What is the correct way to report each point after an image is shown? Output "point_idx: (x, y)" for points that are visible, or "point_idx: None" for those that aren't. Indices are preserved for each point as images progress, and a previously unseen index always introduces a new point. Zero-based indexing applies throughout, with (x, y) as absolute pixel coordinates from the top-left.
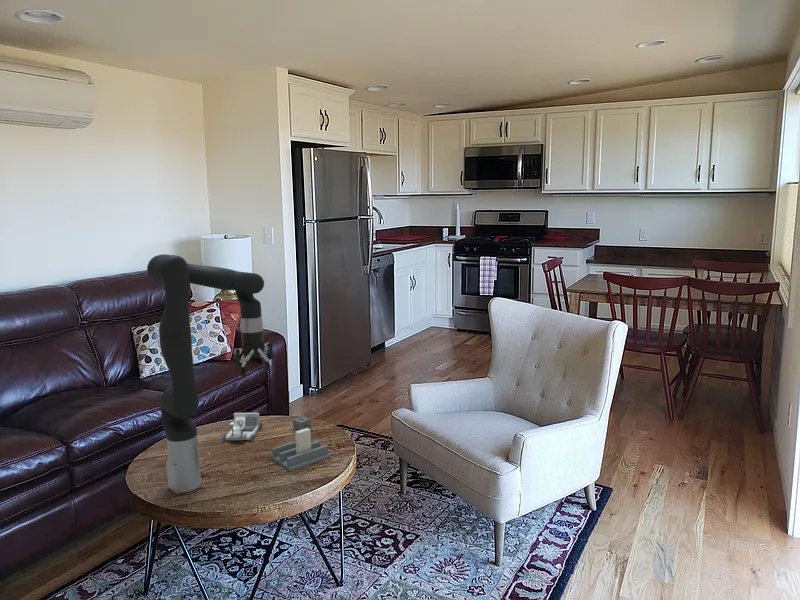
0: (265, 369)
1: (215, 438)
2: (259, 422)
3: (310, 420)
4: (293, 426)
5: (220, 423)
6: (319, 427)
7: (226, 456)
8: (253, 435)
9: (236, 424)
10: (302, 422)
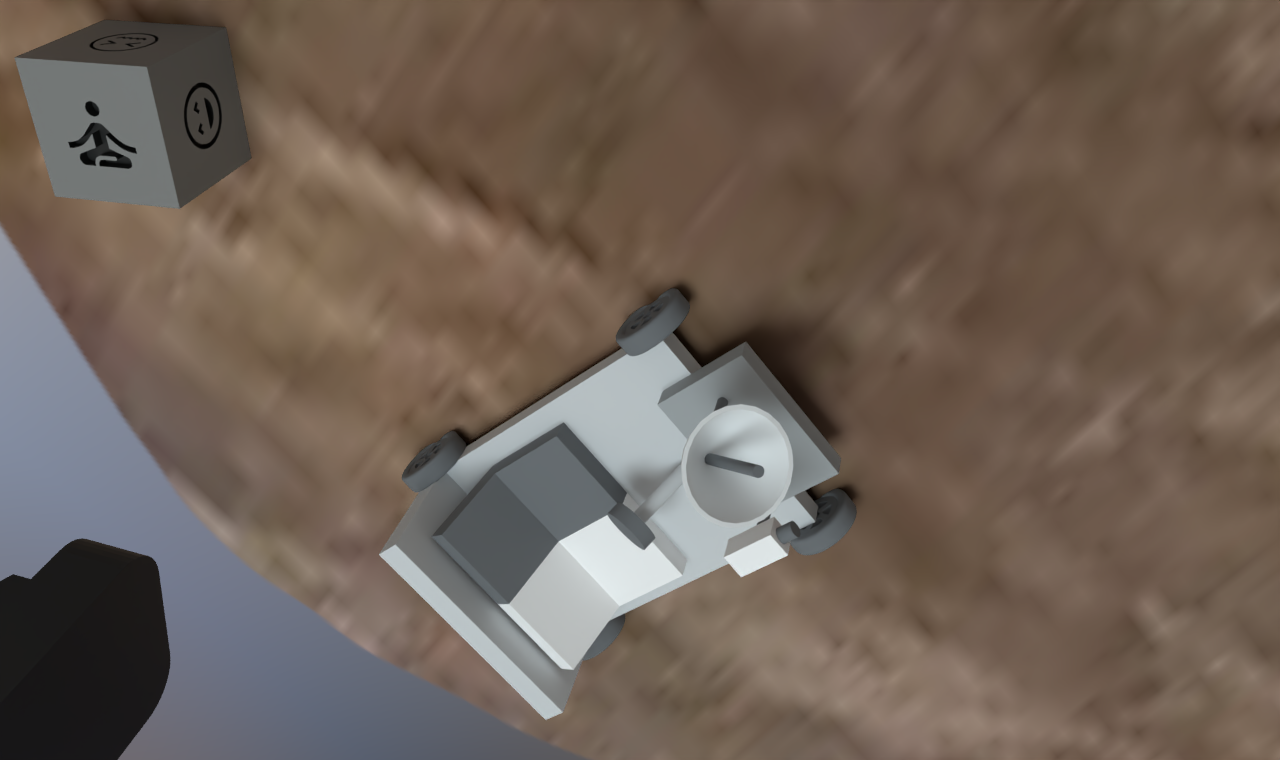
0: (90, 633)
1: (831, 600)
2: (422, 490)
3: (29, 52)
4: (220, 172)
5: (612, 752)
6: (2, 18)
7: (1067, 236)
8: (623, 335)
9: (748, 498)
10: (127, 63)
